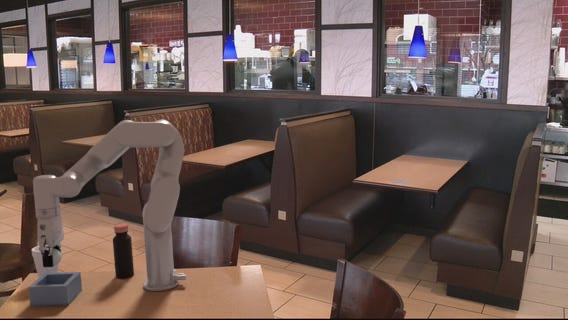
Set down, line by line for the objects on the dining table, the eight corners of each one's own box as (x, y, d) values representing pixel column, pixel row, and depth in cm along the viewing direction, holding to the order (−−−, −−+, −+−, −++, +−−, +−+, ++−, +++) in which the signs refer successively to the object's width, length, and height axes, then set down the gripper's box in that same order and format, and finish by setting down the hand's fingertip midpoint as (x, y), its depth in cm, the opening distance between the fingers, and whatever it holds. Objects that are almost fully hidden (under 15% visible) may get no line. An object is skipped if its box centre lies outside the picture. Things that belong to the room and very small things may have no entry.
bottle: (136, 276, 195) (132, 226, 192) (117, 280, 192) (113, 229, 189) (131, 271, 201) (128, 221, 198) (114, 274, 198) (109, 224, 195)
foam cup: (67, 276, 198) (64, 243, 196) (54, 285, 189) (50, 251, 187) (43, 275, 199) (40, 243, 197) (29, 285, 190) (26, 251, 188)
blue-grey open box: (82, 290, 184) (80, 271, 183) (68, 305, 171) (66, 285, 170) (46, 291, 184) (44, 273, 183) (30, 307, 171) (28, 287, 170)
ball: (65, 262, 179) (63, 245, 178) (57, 268, 173) (56, 251, 172) (47, 263, 178) (46, 246, 178) (39, 269, 173) (38, 252, 172)
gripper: (48, 218, 164) (53, 272, 167) (69, 205, 181) (73, 254, 184) (24, 219, 164) (29, 272, 167) (47, 206, 181) (52, 255, 184)
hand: (52, 262), depth 175 cm, fingers closed on ball, 5 cm apart
